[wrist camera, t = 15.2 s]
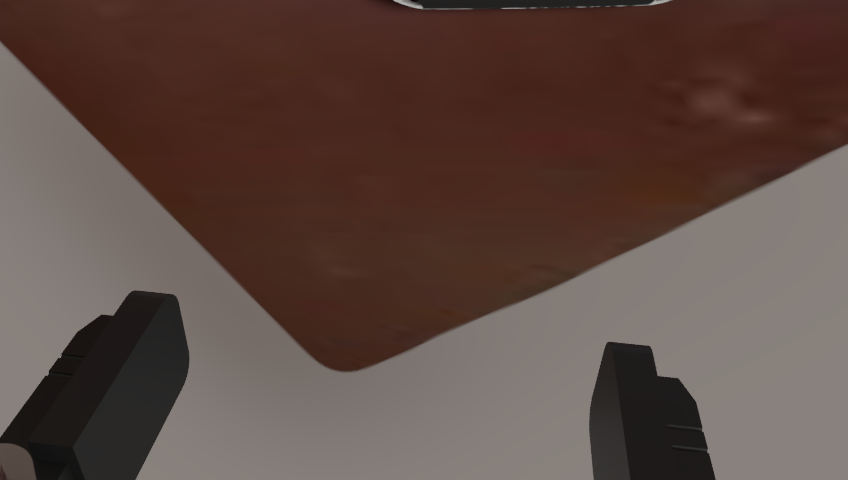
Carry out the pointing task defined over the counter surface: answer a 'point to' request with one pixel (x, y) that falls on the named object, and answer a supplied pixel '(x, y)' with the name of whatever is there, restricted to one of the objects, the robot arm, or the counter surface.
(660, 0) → the gaming console
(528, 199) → the counter surface
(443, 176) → the counter surface
